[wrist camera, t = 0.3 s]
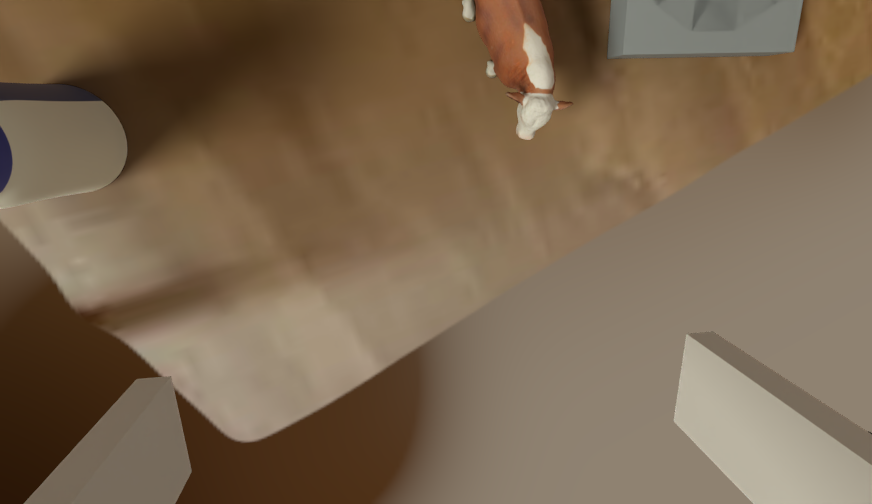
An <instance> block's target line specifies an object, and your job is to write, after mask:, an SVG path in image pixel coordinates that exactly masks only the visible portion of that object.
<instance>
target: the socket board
mask: <svg viewBox="0 0 872 504" xmlns="http://www.w3.org/2000/svg"><path fill="white" fill-rule="evenodd" d="M802 4H803V0H611V10H610V24H609V38H608V52H607V59H619V58H674V57H728V56H770V55H776V54H783V53H789V52H794V49H795V43H796V38H797V32H798V26H799V21H800V15H801V10H802Z"/></svg>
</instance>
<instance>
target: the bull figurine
mask: <svg viewBox="0 0 872 504" xmlns="http://www.w3.org/2000/svg"><path fill="white" fill-rule="evenodd" d="M474 1H475V4H476V13H475V6H474ZM462 5H463V6H464V9H463V14H462V15H463V18H464V19H465V21H467V22H472V21H474V19H475V16H476V25H477V29H478V32H479V35H480V37H481V39H482V41H483V42H484V44H485V45H486V46H487V48H488V50H489V53H490V56H491V58H492V60H493V61H488V62H487V64H488V67H487V69H486V74H487V76H488V77H490V78H494V77H496V76H498V78H499V79H500V80H501V82H502V83H503V84H504V85H505V86H507V87H509V88H513V89H517V90H518V92H519V93H518V92H517V93H510V92H507V93H506V95H507V96H508V97H509V98H511V99H514V100H516V101H517V102H518V103H519V105H518V109H517V115H518V121H519V123H518V125H517V127H516V133H517V135H518V136H519V137H520V138H522V139H526V140H531V139H532V138H533V137H534V135H535V131H536V130H537V129H539V128H540V127H542V126H543V125H545V124H546V123H547V122H548V121H549V120H550V118H551V113H552V111H553V110H562V109H565V108H567V107H569V106H571V105H573V103H572V102H565V101H555V100H554V98H553V90H554V85H555V71H554V49H553V45H552V41H551V38H550V35H549V29H548V24H547V20H546V17H545V13H544V10H543V7H542V4H541V0H463V1H462Z"/></svg>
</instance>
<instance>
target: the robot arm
mask: <svg viewBox="0 0 872 504" xmlns="http://www.w3.org/2000/svg"><path fill="white" fill-rule="evenodd" d="M674 422H675V423H676V424H677V425H678V426H679V427H680V428H681V429H682V430H683V431H684V432H685V433H686V434H687V435H688V436H689V438H690V439H691V440H693V442H694V443H695V444H696V445H697V446H698V447H699V448H700V449H701V450H702V451H703V452H704V453H705V454H706V455H707V456H708V457H709V458H710V459H711V460H712V461H713V462H714V463H715V464H716V465H717V466H718V468H719V469H720V470H721V471H722V472H723V473H724V474H725V475H726V476H727V477H728V478H729V479H730V480H731V481H732V482H733V483H734V484H735V485H736V486H737V487H738V488H739V489H740V490H741V491H742V492H743V493H744V494H745V495H746V497H747V498H748V499H749V500H750V501H751V502H752V503H753V504H872V433H871V432H867V431H865V430H864V429H863V428H861V427H860V426H858V425H856V424H855V423H853V422H852V421H850V420H849V419H847V418H846V417H844V416H843V415H841V414H839V413H838V412H836V411H835V410H833V409H832V408H830V407H829V406H827V405H825V404H824V403H822V402H821V401H819V400H818V399H816V398H815V397H813V396H812V395H810V394H808V393H807V392H805V391H804V390H802V389H801V388H799V387H798V386H796V385H795V384H793V383H792V382H790V381H788V380H787V379H785V378H783V377H782V376H781V375H779V374H777V373H776V372H774V371H773V370H771V369H770V368H768V367H767V366H765V365H764V364H762V363H760V362H759V361H758V360H756V359H754V358H753V357H751V356H750V355H748V354H747V353H745V352H744V351H742V350H741V349H739V348H737V347H736V346H734V345H733V344H731V343H730V342H728V341H726V340H725V339H724V338H722V337H720V336H719V335H717V334H716V333H714V332H704V333H691V334H686V341H685V347H684V354H683V361H682V368H681V375H680V382H679V388H678V396H677V402H676V408H675V415H674ZM190 473H191V466H190V462H189V458H188V452H187V448H186V443H185V439H184V434H183V430H182V425H181V420H180V416H179V411H178V406H177V402H176V397H175V392H174V388H173V383H172V378H171V376H169V377H157V378H145V379H137V380H136V381H135V382H134V383H133V384H132V385H131V386H130V387H129V389H127V391H126V392H125V393H124V394H123V395H122V396H121V397H120V398H119V399H118V400H117V402H116V403H115V404H114V405H113V406H112V407H111V408H110V409H109V410H108V411H107V413H106V414H105V415H104V416H103V417H102V418H101V419H100V420H99V421H98V422H97V424H96V425H95V426H94V427H93V428H92V429H91V430H90V431H89V432H88V433H87V435H86V436H85V437H84V438H83V439H82V440H81V441H80V442H79V443H78V445H77V446H76V447H75V448H74V449H73V450H72V451H71V452H70V453H69V454H68V456H67V457H66V458H65V459H64V460H63V461H62V462H61V463H60V464H59V465H58V467H57V468H56V469H55V470H54V471H53V472H52V473H51V474H50V475H49V477H48V478H47V479H46V480H45V481H44V482H43V483H42V484H41V485H40V487H39V488H38V489H37V490H36V491H35V492H34V493H33V494H32V495H31V496H30V497H29V499H28V500H27V501H26V502H25V503H24V504H175V502H176V500H177V499H178V497H179V495H180V493H181V491H182V489H183V487H184V485H185V483H186V481H187V479H188V477H189V475H190Z"/></svg>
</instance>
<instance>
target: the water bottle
mask: <svg viewBox="0 0 872 504" xmlns="http://www.w3.org/2000/svg"><path fill="white" fill-rule="evenodd" d="M126 158H127V140H126V135H125V132H124V129H123V127H122V125H121V123H120V121H119V119H118V118H117V116H116V115H115V113H114V112H113V111H112V110H111V109H110V107H109V106H108V105H107V104H105V103H104V102H103V101H102V100H101V99H99V98H98V97H97V96H95V95H93V94H92V93H90V92H88V91H86V90H83V89H81V88H78V87H75V86H70V85H64V84H21V83H2V82H0V209H4V208H9V207H14V206H19V205H23V204H28V203H32V202H36V201H41V200H45V199H50V198H55V197H60V196H66V195H72V194H78V193H85V192H91V191H95V190H98V189H101V188H103V187H105V186H107V185H109V184H110V183H111V182H113V181H114V180H115V179H116V178H117V177H118V175H119V174H120V173H121V171H122V169H123V167H124V165H125V162H126Z"/></svg>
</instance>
